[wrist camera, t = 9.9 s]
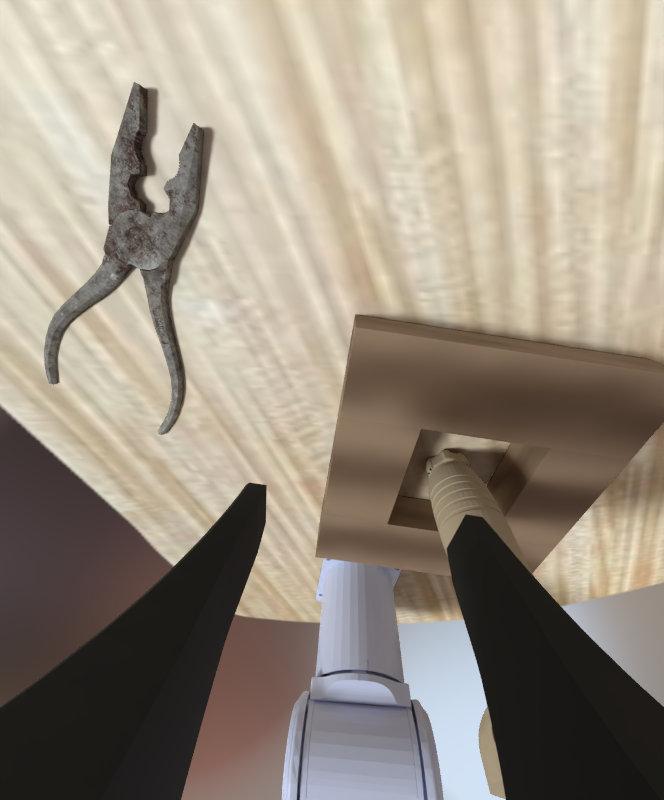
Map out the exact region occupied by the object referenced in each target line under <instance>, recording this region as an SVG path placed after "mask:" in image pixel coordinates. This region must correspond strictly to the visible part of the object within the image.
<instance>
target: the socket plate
mask: <svg viewBox="0 0 664 800" xmlns="http://www.w3.org/2000/svg"><path fill="white" fill-rule="evenodd" d="M663 422H664V365H662V364H659V363H657V362H654V361H651V360H649V359H645V358H638V357H632V356H625V355H618V354H612V353H605V352H599V351H592V350H585V349H579V348H572V347H566V346H559V345H552V344H546V343H539V342H532V341H526V340H519V339H513V338H506V337H499V336H493V335H486V334H480V333H473V332H466V331H460V330H453V329H446V328H440V327H433V326H427V325H420V324H413V323H407V322H400V321H394V320H387V319H380V318H374V317H367V316H361V315H355V319H354V325H353V331H352V337H351V343H350V348H349V354H348V360H347V366H346V372H345V378H344V384H343V389H342V395H341V401H340V407H339V413H338V419H337V425H336V430H335V436H334V442H333V448H332V454H331V460H330V465H329V471H328V477H327V483H326V489H325V495H324V501H323V506H322V512H321V518H320V524H319V531H318V540H317V548H316V556H315V557H319V558H326V559H333V560H340V561H347V562H354V563H361V564H368V565H375V566H382V567H389V568H396V569H402V570H409V571H416V572H423V573H430V574H437V575H444V576H451V572H450V567H449V561H448V557H447V554H446V551H445V549H444V546H443V543H442V541H441V538H440V534H439V531H438V527H437V524H436V521H435V517H434V513H433V509H432V504H431V501H429V500H423V499H416V498H409V497H402V496H397V495H398V493H399V490H400V487H401V484H402V481H403V479H404V476H405V473H406V470H407V467H408V465H409V462H410V459H411V456H412V453H413V451H414V448H415V445H416V442H417V439H418V437H419V434H420V431H421V429H424V430H431V431H438V432H445V433H451V434H458V435H465V436H472V437H478V438H485V439H492V440H499V441H505V442H512V443H511V445H510V446H509V448H508V450H507V452H506V453H505V455H504V457H503V459H502V460H501V462H500V464H499V466H498V467H497V469H496V471H495V473H494V474H493V476H492V478H491V480H490V481H489V483H488V485H487V488H488V490H489V491H490V493H491V494H492V496H493V497H494V499H495V501H496V502H497V504H498V506H499V508H500V509H501V511H502V513H503V515H504V516H505V518H506V520H507V522H508V524H509V526H510V528H511V530H512V532H513V534H514V536H515V539H516V541H517V543H518V545H519V547H520V549H521V551H522V553H523V555H524V557H525V560H526V562H527V564H528V566H529V568H530V570H531V572H532V573H533V572H534V571H535V569H536V568H537V567H538V566H539V565H540V564H541V563H542V561H543V560H544V559H545V558H546V557H547V556H548V555H549V553H550V552H551V551H552V550H553V549H554V548H555V546H556V545H557V544H558V543H559V542H560V541H561V540H562V538H563V537H564V536H565V535H566V534H567V533H568V532H569V530H570V529H571V528H572V527H573V526H574V525H575V523H576V522H577V521H578V520H579V519H580V518H581V517H582V515H583V514H584V513H585V512H586V511H587V510H588V508H589V507H590V506H591V505H592V504H593V503H594V502H595V500H596V499H597V498H598V497H599V496H600V495H601V494H602V492H603V491H604V490H605V489H606V488H607V487H608V485H609V484H610V483H611V482H612V481H613V480H614V479H615V477H616V476H617V475H618V474H619V473H620V472H621V471H622V469H623V468H624V467H625V466H626V465H627V464H628V462H629V461H630V460H631V459H632V458H633V457H634V456H635V454H636V453H637V452H638V451H639V450H640V449H641V448H642V446H643V445H644V444H645V443H646V442H647V441H648V439H649V438H650V437H651V436H652V435H653V434H654V433H655V431H656V430H657V429H658V428H659V427H660V426H661V425H662V423H663Z"/></svg>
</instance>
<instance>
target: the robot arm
mask: <svg viewBox="0 0 664 800" xmlns="http://www.w3.org/2000/svg"><path fill="white" fill-rule="evenodd" d="M265 523H266V485H261V484H254V483H248V484H247V485H246V486H245V487H244V489H243V490H242V491H241V493H240V494H239V495H238V497H237V498H236V499H235V500H234V502H233V503H232V504H231V505H230V507H229V508H228V509H227V510H226V511H225V513H224V514H223V515H222V516H221V517H220V518H219V519H218V521H217V522H216V523H215V524H214V525H213V526H212V527H211V528H210V530H209V531H208V532H207V533H206V534H205V535H204V536H203V537H202V538H201V539H200V541H199V542H198V543H197V544H196V545H195V546H194V547H193V548H192V549H191V550H190V551H189V552H188V553H187V554H186V555H185V556H184V557H183V558H182V559H181V560H180V561H179V562H178V563H177V564H176V565H175V566H174V567H173V568H172V569H171V570H170V571H169V572H168V573H167V574H166V575H165V576H163V578H161V579H160V580H159V581H158V582H157V583H156V584H155V585H154V586H153V587H152V588H151V589H149V590H148V591H147V592H146V593H145V594H144V595H143V596H142V597H140V598H139V599H138V600H137V601H136V602H135V603H134V604H132V605H131V606H130V607H129V608H128V609H127V610H125V611H124V612H123V613H122V614H121V615H119V616H118V617H117V618H116V619H115V620H114V621H112V622H111V623H110V624H109V625H108V626H106V627H105V628H104V629H103V630H101V631H100V632H99V633H98V634H97V635H95V636H94V637H93V638H91V639H90V640H89V641H88V642H86V643H85V644H84V645H83V646H81V647H80V648H79V649H77V650H76V651H75V652H74V653H72V654H71V655H70V656H68V657H67V658H66V659H65V660H63V661H62V662H61V663H59V664H58V665H57V666H56V667H54V668H53V669H52V670H50V671H49V672H48V673H47V674H45V675H44V676H43V677H41V678H40V679H39V680H37V681H36V682H35V683H33V684H32V685H30V686H29V687H28V688H26V689H25V690H24V691H22V692H21V693H19V694H18V695H17V696H16V697H14V698H12V699H11V700H10V701H8V702H7V703H6V704H4V705H3V706H2V707H0V800H181V797H182V793H183V790H184V786H185V782H186V778H187V775H188V771H189V767H190V763H191V760H192V756H193V753H194V749H195V745H196V742H197V737H198V734H199V731H200V727H201V723H202V720H203V716H204V713H205V709H206V706H207V702H208V699H209V695H210V691H211V688H212V685H213V681H214V678H215V674H216V670H217V667H218V664H219V660H220V657H221V653H222V650H223V647H224V643H225V640H226V637H227V634H228V631H229V628H230V625H231V622H232V620H233V617H234V614H235V612H236V609H237V606H238V604H239V601H240V598H241V596H242V593H243V590H244V588H245V585H246V582H247V580H248V577H249V574H250V572H251V569H252V566H253V564H254V561H255V558H256V555H257V553H258V549H259V546H260V542H261V538H262V534H263V531H264V527H265ZM447 555H448V561H449V567H450V572H451V577H452V581H453V585H454V588H455V592H456V595H457V598H458V602H459V605H460V608H461V611H462V615H463V618H464V621H465V624H466V628H467V631H468V634H469V637H470V641H471V644H472V646H473V650H474V654H475V657H476V660H477V664H478V667H479V671H480V675H481V679H482V683H483V688H484V692H485V696H486V701H487V706H488V710H489V715H490V719H491V724H492V729H493V734H494V739H495V744H496V749H497V754H498V759H499V764H500V769H501V775H502V780H503V786H504V791H505V797H506V800H664V707H663V706H662V705H661V704H660V703H659V702H657V701H656V700H655V699H654V698H653V697H652V696H651V695H650V694H649V693H647V692H646V691H645V690H644V689H643V688H642V687H641V686H640V685H639V684H638V683H636V682H635V680H633V679H632V678H631V677H630V676H629V675H628V674H627V673H626V672H625V671H624V670H623V669H622V668H621V667H620V666H619V665H618V664H617V663H616V662H615V661H614V660H613V659H612V658H611V657H610V656H609V655H607V654H606V653H605V652H604V651H603V650H602V649H601V648H600V647H599V646H598V645H597V644H596V643H595V642H594V641H593V640H592V639H591V638H590V637H589V636H588V635H587V634H586V633H585V632H584V631H583V630H582V629H581V628H580V627H579V625H578V624H577V623H576V622H575V621H574V620H573V619H572V618H571V617H570V616H569V615H568V614H567V613H566V612H565V611H564V610H563V608H562V607H561V606H560V605H559V604H558V603H557V602H556V601H555V600H554V599H553V598H552V597H551V595H550V594H549V593H548V592H547V591H546V590H545V589H544V588H543V587H542V585H541V584H540V583H539V582H538V581H537V580H536V579H535V578H534V576H533V575H532V574H531V573H530V572H529V571H528V570H527V568H526V567H525V566H524V565H523V564H522V563H521V561H520V560H519V559H518V558H517V557H516V556H515V554H514V553H513V552H512V551H511V550H510V548H509V547H508V546H507V545H506V544H505V543H504V541H503V540H502V539H501V538H500V537H499V535H498V534H497V533H496V532H495V531H494V530H493V528H492V527H491V526H490V525H489V524H488V523H487V521H486V520H485V519H484V518H483V517H480V516H473V515H465V516H464V518H463V520H462V522H461V524H460V525H459V527H458V529H457V531H456V533H455V534H454V536H453V538H452V540H451V542H450V543H449V545H448V547H447ZM401 570H402V569H396V568H389V567H382V566H375V565H368V564H361V563H354V562H347V561H340V560H333V559H326V558H324V559H323V564H322V569H321V574H320V579H319V584H318V589H317V594H316V600H317V601H320V602H322V609H321V621H320V633H319V644H318V656H317V668H316V677H312V681H311V691H310V692H307V691H304V692H303V693H302V694H301V697H300V698H299V699H298V700H297V702H296V703H295V706H294V708H293V712H292V717H291V722H290V727H289V733H288V740H287V747H286V756H285V764H284V775H283V776H284V777H283V789H282V800H443V791H442V783H441V775H440V768H439V763H438V756H437V751H436V745H435V740H434V736H433V731H432V727H431V723H430V720H429V717H428V715H427V713H426V711H425V710H424V709H423V707H422V706H421V704H420V702H419V701H418V700H411V699H410V691H409V685H408V684H406V683H404V676H403V668H402V660H401V651H400V643H399V634H398V626H397V617H396V609H395V600H394V592H393V588H394V586H395V584H396V581H397V579H398V577H399V575H400V573H401Z"/></svg>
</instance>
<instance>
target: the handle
mask: <svg viewBox="0 0 664 800" xmlns="http://www.w3.org/2000/svg"><path fill="white" fill-rule="evenodd" d="M470 465H471V464H470V462H469V461H468V460H467V459H466V457H465V456H464V455H463V454H461V453H452V452H450V451H449V450H443V451H441V452H440V453H439V454H438V455H436V456H434V457H432V458H429V459H428V460H427V462H426V471H427V474H428V480H429V481H428V486H429V494H430V500H431V504H432V509H433V513H434V517H435V521H436V524H437V527H438V531H439V534H440V538H441V541H442V543H443V546H444V549H445V551H446V554H447V547H448V545H449V543H450V542H451V540H452V538H453V536H454V534H455V533H456V531H457V529H458V527H459V525H460V524H461V522H462V520H463V518H464V516H465V515H473V516H480V517H483V518H484V519H485V520H486V521H487V523H488V524H489V525H490V526H491V527H492V528H493V530H494V531H495V532H496V533H497V534H498V535H499V537H500V538H501V539H502V540H503V541H504V543H505V544H506V545H507V546H508V547H509V548H510V550H511V551H512V552H513V553H514V554H515V556H516V557H517V558H518V559H519V560H520V561H521V563H522V564H523V565H524V566H525V567H526V568H527V570H528V571H529V572H530V573H531V574H532V572H531V570H530V568H529V566H528V564H527V562H526V560H525V557H524V555H523V553H522V551H521V549H520V547H519V545H518V543H517V541H516V539H515V536H514V534H513V532H512V530H511V528H510V526H509V524H508V522H507V520H506V518H505V516H504V515H503V513H502V511H501V509H500V508H499V506H498V504H497V502H496V501H495V499H494V497H493V496H492V494H491V493H490V491H489V490H488V488H487V487H486V485H485V484H484V482H483V481H482V480H481V478H480V477H479V476H478V475H477V474H476V472H475V471H474V470H473V469H472V468H471V467H470ZM447 557H448V555H447ZM532 575H533V574H532ZM479 748H480V753H481V758H482V762H483V766H484V770H485V774H486V778H487V782H488V786H489V790H490V794H493V795H495V796H498V797H501V798H504V799H506V797H505V791H504V786H503V780H502V775H501V769H500V764H499V759H498V754H497V749H496V744H495V739H494V734H493V729H492V724H491V719H490V715H489V710H488V707H487V708H486V710H485V712H484V714H483V717H482V720H481V723H480V728H479Z"/></svg>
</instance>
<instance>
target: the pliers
mask: <svg viewBox="0 0 664 800" xmlns="http://www.w3.org/2000/svg"><path fill="white" fill-rule="evenodd" d="M146 133H147V90H146V89H145V88H143V87H142V86H141V85H139V84H137V83H135V82H134V84H133V87H132V90H131V94H130V97H129V100H128V103H127V106H126V110H125V113H124V116H123V119H122V123H121V126H120V129H119V132H118V136H117V139H116V142H115V145H114V149H113V152H112V155H111V169H110V185H109V201H108V212H109V224H110V225H111V226H109V230H108V233H107V237H106V241H105V245H104V249H103V250H104V251H105V256H104V259H103V262H102V265H101V266H100V267H99V269H98V270H97V271H96V273H95V274H94V275H93V276H92V277H91V279H90V280H89V281H88V282H87V283H86V284H85V285H84V286H83V287H81V288H80V289H79V290H78V291H77V292H76V293H75V294H74V295H73V296H72V297H71V298H70V299H69V300H67V301H66V302H65V303H64V304H63V305H62V306H61V307H60V309H59V310H58V311H57V312H56V314H55V315H54V317H53V319H52V321H51V323H50V325H49V327H48V331H47V335H46V340H45V349H44V358H45V369H46V375H47V378H48V382H49V383H50V384H56V383H57V382H58V377H57V369H56V353H57V348H58V343H59V341H60V338H61V335H62V333H63V331H64V330H65V328H66V327H67V325H68V324H69V323H70V322H71V321H72V320H73V319H74V318H75V317H76V316H78V315H79V314H80V313H82V312H83V311H84V310H86V309H87V308H88V307H90V306H91V305H93V304H94V303H95V302H97V301H99V300H100V299H102V298H103V297H105V296H106V295H107V294H108V293H110V292H111V291H112V290H113V289H114V288H115V287H116V286H117V285H118V284H119V283H120V282H121V281H122V280H123V278H124V277H125V276H126V274H127V273H128V272H129V271H130V269H131V267H132V265H133V266H135V267H137V268H139V269H140V271H141V274H142V276H143V278H144V283H145V288H146V293H147V298H148V303H149V308H150V313H151V316H152V319H153V323H154V326H155V329H156V332H157V334H158V337H159V340H160V343H161V346H162V349H163V352H164V355H165V358H166V362H167V365H168V368H169V372H170V376H171V385H172V395H171V403H170V408H169V411H168V414H167V416H166V418H165V420H164V422H163V423H162V425H161V427H160V428H159V430H158V432H159V434H160V435H162V434H165V433H166V432H167V431H168V430H169V429H170V427H171V426H172V424H173V423H174V421H175V419H176V417H177V415H178V413H179V409H180V406H181V403H182V396H183V373H182V366H181V362H180V358H179V353H178V349H177V345H176V341H175V336H174V332H173V328H172V323H171V318H170V312H169V304H168V290H169V283H170V277H171V270H172V264H173V259H175V257H176V254H177V252H178V250H179V248H180V246H181V244H182V242H183V240H184V238H185V236H186V234H187V232H188V230H189V228H190V226H191V224H192V222H193V220H194V218H195V216H196V214H197V212H198V207H199V193H200V179H201V165H202V151H203V137H204V131H203V130H202V129H201V128H200V127H199V126H197V125H196V124H195V123H193V126H192V128H191V130H190V132H189V134H188V136H187V139H186V141H185V143H184V145H183V147H182V150H181V152H180V154H179V161H180V162H179V164H180V165H179V167H180V168H179V171H178V174H177V176H175V178H173V179H171V180H169V181H167V183H166V185H165V187H164V190H165V192H166V194H167V195H168V197H169V199H170V208H169V211H168V212H166V213H165V214H161V213H157V212H153V213H152V215H150V214H148V213H146V204H145V203H144V202H143V201H142V200H141V199H140V198H139V197H138V196H137V193H136V190H135V187H134V185H135V182H136V180H137V177H140V176H147V166H146V164H145V161H144V158H143V155H142V151H141V150H142V148H141V147H142V145H141V144H142V141H143V138H144V136H146ZM134 210H135V211H134Z"/></svg>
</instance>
